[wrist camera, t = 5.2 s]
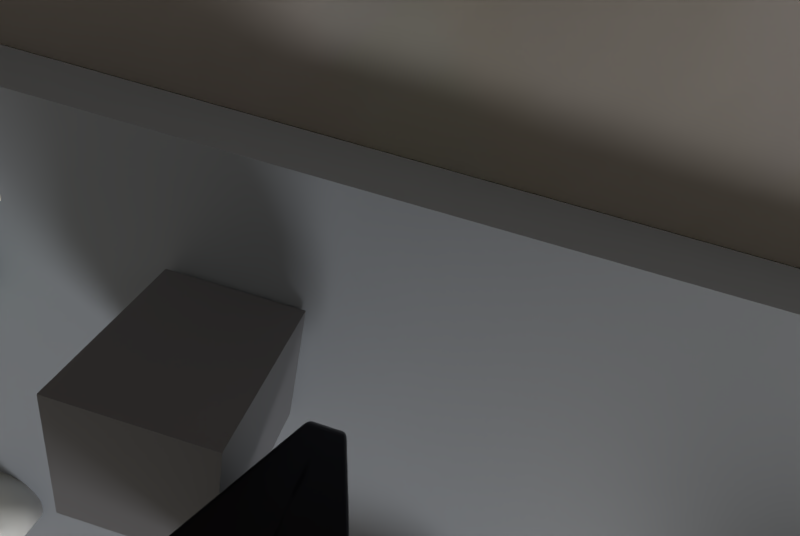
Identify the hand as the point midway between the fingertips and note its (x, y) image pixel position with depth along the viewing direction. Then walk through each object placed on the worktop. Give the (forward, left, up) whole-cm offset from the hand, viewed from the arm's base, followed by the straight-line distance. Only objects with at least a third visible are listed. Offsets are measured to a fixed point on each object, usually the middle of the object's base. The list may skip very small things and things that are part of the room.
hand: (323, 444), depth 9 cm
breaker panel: (0, +4, -3) cm, 5 cm away
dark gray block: (+2, 0, -2) cm, 3 cm away
